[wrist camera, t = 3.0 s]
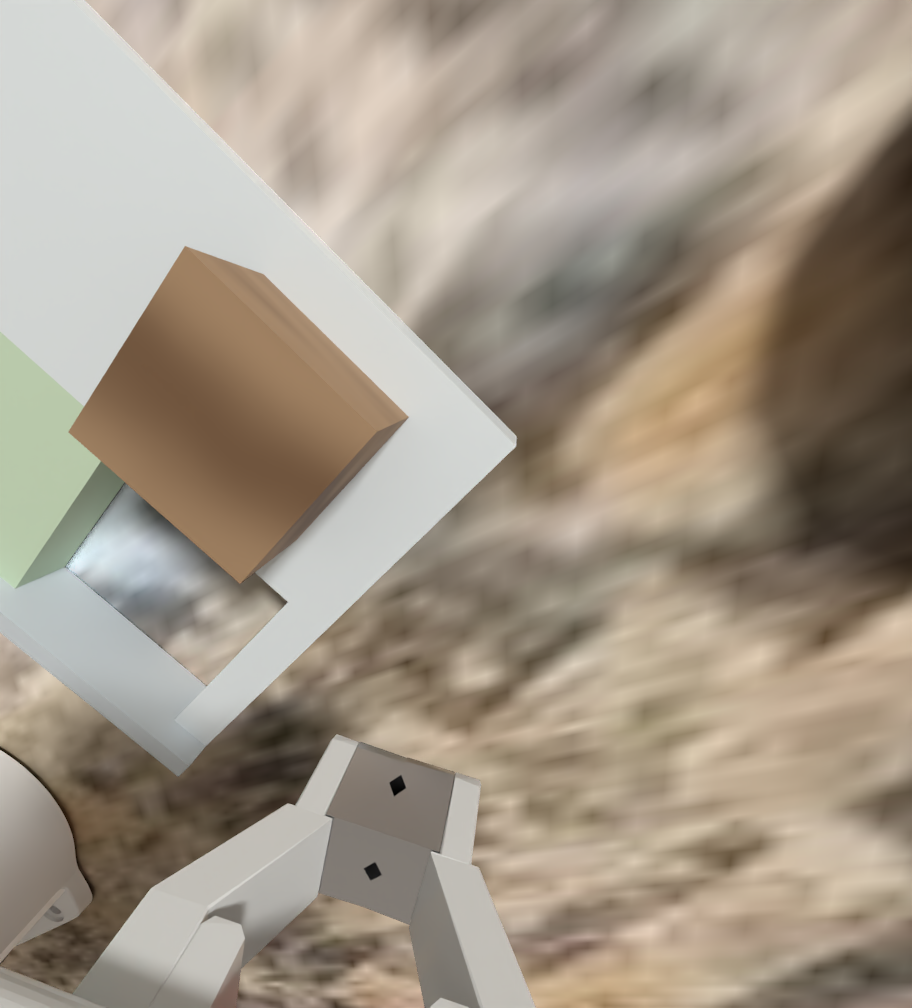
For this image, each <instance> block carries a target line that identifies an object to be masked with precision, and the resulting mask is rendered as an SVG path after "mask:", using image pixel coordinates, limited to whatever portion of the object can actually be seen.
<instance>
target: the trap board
mask: <svg viewBox="0 0 912 1008" xmlns="http://www.w3.org/2000/svg"><path fill="white" fill-rule="evenodd" d="M185 246H187V247H189V248H192V249H195V250H198V251H200V252H203V253H206V254H209V255H212V256H214V257H217V258H220V259H223V260H226V261H228V262H231V263H234V264H237V265H239V266H242V267H245V268H248V269H251V270H253V271H256V272H259V273H262V274H264V275H265V276H266V277H267V278H268V279H269V280H270V281H271V282H272V283H273V284H274V285H275V286H276V287H277V288H278V289H279V290H280V291H281V292H282V293H283V294H284V295H285V296H286V297H287V298H288V299H289V300H290V301H291V302H292V303H293V304H294V305H295V306H296V307H297V308H298V309H299V310H300V311H302V312H303V313H304V314H305V315H306V316H307V317H308V318H309V319H310V320H311V321H312V322H313V323H314V324H315V325H316V326H317V327H318V328H319V329H320V330H321V331H322V332H323V333H324V334H325V335H326V336H327V337H328V338H329V339H330V340H331V341H332V342H333V343H334V344H335V345H336V346H337V347H338V348H339V349H340V350H341V351H342V352H343V353H344V354H345V355H346V356H347V357H348V358H349V359H350V360H351V361H352V362H353V363H354V364H355V365H357V366H358V367H359V368H360V369H361V370H362V371H363V372H364V373H365V374H366V375H367V376H368V377H369V378H370V379H371V380H372V381H373V382H374V383H375V384H376V385H377V386H378V387H379V388H380V389H381V390H382V391H383V392H384V393H385V394H386V395H387V396H388V397H389V398H390V399H391V400H392V401H393V402H394V403H395V404H396V405H397V406H398V407H399V408H400V409H401V410H402V411H403V412H404V413H405V414H406V415H407V416H408V417H409V418H408V419H407V420H406V421H405V422H404V423H403V424H402V425H401V426H400V427H399V429H398V430H397V431H396V432H395V433H394V434H393V435H392V436H391V437H390V438H389V439H388V441H387V442H386V443H385V444H384V445H383V446H382V447H381V448H380V449H379V450H378V451H377V453H376V454H375V455H374V456H373V457H372V458H371V459H370V460H369V461H368V462H367V463H366V465H365V466H364V467H363V468H362V469H361V470H360V471H359V472H358V473H357V474H356V476H355V477H354V478H353V479H352V480H351V481H350V482H349V483H348V484H347V485H346V486H345V488H344V489H343V490H342V491H341V492H340V493H339V494H338V495H337V496H336V497H335V498H334V500H333V501H332V502H331V503H330V504H329V505H328V506H327V507H326V508H325V509H324V510H323V512H322V513H321V514H320V515H319V516H318V517H317V518H316V519H315V520H314V521H313V523H312V524H311V525H310V526H309V527H308V528H307V529H306V530H305V531H304V532H303V533H302V535H301V536H300V537H299V538H298V539H297V540H296V541H295V542H293V543H292V544H291V545H290V546H288V547H287V548H286V549H284V550H283V551H282V552H281V553H279V554H278V555H277V556H275V557H274V558H273V559H272V560H270V561H269V562H268V563H266V564H265V565H264V566H263V567H261V568H260V569H259V570H257V571H256V572H255V573H256V574H257V575H258V576H259V577H260V578H261V579H263V580H264V581H265V582H266V583H267V584H268V585H269V586H270V587H272V588H273V589H274V590H275V591H276V592H277V593H278V594H279V595H281V596H282V597H283V598H284V599H285V600H286V601H287V602H288V603H287V604H286V605H285V606H284V607H283V608H282V609H281V610H280V611H279V612H278V613H277V614H276V615H275V616H274V617H273V618H272V619H271V620H270V621H269V622H268V623H267V624H266V625H265V626H264V628H263V629H262V630H261V631H260V632H259V633H258V634H257V635H256V636H255V637H254V638H253V639H252V640H251V641H250V642H249V643H248V644H247V645H246V646H245V647H244V648H243V649H242V650H241V651H240V652H239V653H238V654H237V656H236V657H235V658H234V659H233V660H232V661H231V662H230V663H229V664H228V665H227V666H226V667H225V668H224V669H223V670H222V671H221V672H220V673H219V674H218V675H217V676H216V677H215V678H214V679H213V680H212V681H211V682H210V683H209V685H208V686H206V685H204V684H203V683H202V682H201V681H200V680H199V679H197V678H196V677H195V676H194V675H193V674H191V673H190V672H189V671H188V670H187V669H186V668H184V667H183V666H182V665H181V664H180V663H178V662H177V661H176V660H175V659H174V658H173V657H171V656H170V655H169V654H168V653H167V652H165V651H164V650H163V649H162V648H161V647H159V646H158V645H157V644H156V643H155V642H154V641H152V640H151V639H150V638H149V637H148V636H146V635H145V634H144V633H143V632H142V631H141V630H139V629H138V628H137V627H136V626H135V625H133V624H132V623H131V622H130V621H129V620H127V619H126V618H125V617H124V616H123V615H122V614H120V613H119V612H118V611H117V610H116V609H114V608H113V607H112V606H111V605H110V604H109V603H107V602H106V601H105V600H104V599H103V598H101V597H100V596H99V595H98V594H97V593H95V592H94V591H93V590H92V589H91V588H90V587H88V586H87V585H86V584H85V583H84V582H82V581H81V580H80V579H79V578H78V577H77V576H75V575H74V574H73V573H72V572H71V571H69V570H68V569H67V568H66V567H65V566H66V565H67V563H68V562H69V560H70V559H71V558H72V556H73V555H74V553H75V552H76V550H77V549H78V548H79V546H80V545H81V543H82V542H83V541H84V539H85V538H86V536H87V535H88V534H89V532H90V531H91V529H92V528H93V526H94V525H95V524H96V522H97V521H98V519H99V518H100V517H101V515H102V514H103V512H104V511H105V510H106V508H107V507H108V505H109V504H110V502H111V501H112V500H113V498H114V497H115V495H116V494H117V493H118V491H119V490H120V488H121V487H122V486H123V484H124V483H125V482H124V481H123V480H122V479H121V478H120V477H118V476H117V475H116V474H115V473H114V472H113V471H112V470H110V469H109V468H108V467H107V466H106V465H105V464H104V463H103V462H101V461H100V460H99V459H98V458H97V457H96V456H95V455H93V454H92V453H91V452H90V451H89V450H88V449H87V448H86V447H84V446H83V445H82V444H81V443H80V442H79V441H78V440H76V439H75V438H74V437H73V436H72V435H71V434H70V433H69V430H70V428H71V427H72V425H73V424H74V422H75V420H76V419H77V417H78V416H79V414H80V412H81V411H82V409H83V408H84V406H85V404H86V403H87V401H88V400H89V398H90V396H91V395H92V393H93V392H94V390H95V389H96V387H97V385H98V384H99V382H100V381H101V379H102V377H103V376H104V374H105V373H106V371H107V369H108V368H109V366H110V365H111V363H112V361H113V360H114V358H115V357H116V355H117V353H118V352H119V350H120V349H121V347H122V346H123V344H124V342H125V341H126V339H127V338H128V336H129V334H130V333H131V331H132V330H133V328H134V326H135V325H136V323H137V322H138V320H139V318H140V317H141V315H142V314H143V312H144V310H145V309H146V307H147V306H148V304H149V302H150V301H151V299H152V298H153V296H154V295H155V293H156V291H157V290H158V288H159V287H160V285H161V283H162V282H163V280H164V279H165V277H166V275H167V274H168V272H169V271H170V269H171V267H172V266H173V264H174V263H175V261H176V259H177V258H178V256H179V255H180V253H181V252H182V250H183V248H184V247H185ZM516 438H517V436H516V435H515V434H514V433H513V432H512V431H511V430H510V429H509V428H508V427H507V426H506V425H505V424H504V423H503V422H502V421H501V420H500V419H499V418H498V417H497V416H496V415H495V414H494V413H493V412H492V411H491V410H490V409H489V408H488V407H487V406H486V405H485V404H484V403H483V402H482V401H481V400H480V399H479V398H478V397H477V396H476V395H475V394H474V393H473V392H472V391H471V390H470V389H469V388H468V387H467V386H466V385H465V384H464V383H463V382H462V381H461V380H460V379H459V378H458V377H457V376H456V375H455V374H454V373H453V372H452V371H451V370H450V369H449V368H448V367H447V366H446V365H445V364H444V363H443V362H442V361H441V359H440V358H439V357H438V356H437V355H436V354H435V353H434V352H433V351H432V350H431V349H430V348H429V347H428V346H427V345H426V344H425V343H424V342H423V341H422V340H421V339H420V338H419V337H418V336H417V335H416V334H415V333H414V332H413V331H412V330H411V329H410V328H409V327H408V326H407V325H406V324H405V323H404V322H403V321H402V320H401V319H400V318H399V317H398V316H397V315H396V314H395V313H394V312H393V311H392V310H391V309H390V308H389V307H388V306H387V305H386V304H385V303H384V302H383V301H382V300H381V299H380V298H379V297H378V296H377V295H376V294H375V293H374V292H373V291H372V290H371V289H370V288H369V287H368V286H367V285H366V284H365V283H364V282H363V281H362V280H361V279H360V278H359V277H358V276H357V275H356V274H355V273H354V272H353V271H352V270H351V269H350V268H349V267H348V266H347V265H346V264H345V263H344V262H343V261H342V260H341V259H340V258H339V257H338V256H337V254H336V253H335V252H334V251H333V250H332V249H331V248H330V247H329V246H328V245H327V244H326V243H325V242H324V241H323V240H322V239H321V238H320V237H319V236H318V235H317V234H316V233H315V232H314V231H313V230H312V229H311V228H310V227H309V226H308V225H307V224H306V223H305V222H304V221H303V220H302V219H301V218H300V217H299V216H298V215H297V214H296V213H295V212H294V211H293V210H292V209H291V208H290V207H289V206H288V205H287V204H286V203H285V202H284V201H283V200H282V199H281V198H280V197H279V196H278V195H277V194H276V193H275V192H274V191H273V190H272V189H271V188H270V187H269V186H268V185H267V184H266V183H265V182H264V181H263V180H262V179H261V178H260V177H259V176H258V175H257V174H256V173H255V172H254V171H253V170H252V169H251V168H250V167H249V166H248V165H247V164H246V163H245V162H244V161H243V160H242V159H241V158H240V157H239V156H238V155H237V154H236V153H235V152H234V151H233V149H232V148H231V147H230V146H229V145H228V144H227V143H226V142H225V141H224V140H223V139H222V138H221V137H220V136H219V135H218V134H217V133H216V132H215V131H214V130H213V129H212V128H211V127H210V126H209V125H208V124H207V123H206V122H205V121H204V120H203V119H202V118H201V117H200V116H199V115H198V114H197V113H196V112H195V111H194V110H193V109H192V108H191V107H190V106H189V105H188V104H187V103H186V102H185V101H184V100H183V99H182V98H181V97H180V96H179V95H178V94H177V93H176V92H175V91H174V90H173V89H172V88H171V87H170V86H169V85H168V84H167V83H166V82H165V81H164V80H163V79H162V78H161V77H160V76H159V75H158V74H157V73H156V72H155V71H154V70H153V69H152V68H151V67H150V66H149V65H148V64H147V63H146V62H145V61H144V60H143V59H142V58H141V57H140V56H139V55H138V54H137V53H136V52H135V51H134V50H133V49H132V48H131V47H130V45H129V44H128V43H127V42H126V41H125V40H124V39H123V38H122V37H121V36H120V35H119V34H118V33H117V32H116V31H115V30H114V29H113V28H112V27H111V26H110V25H109V24H108V23H107V22H106V21H105V20H104V19H103V18H102V17H101V16H100V15H99V14H98V13H97V12H96V11H95V10H94V9H93V8H92V7H91V6H90V5H89V4H88V3H87V2H86V1H85V0H0V633H1V634H3V635H4V636H5V637H6V638H8V639H9V640H10V641H11V642H13V643H14V644H15V645H16V646H17V647H19V648H20V649H21V650H22V651H24V652H25V653H26V654H27V655H29V656H30V657H31V658H32V659H34V660H35V661H36V662H37V663H38V664H40V665H41V666H42V667H43V668H45V669H46V670H47V671H48V672H50V673H51V674H52V675H53V676H54V677H56V678H57V679H58V680H59V681H61V682H62V683H63V684H64V685H66V686H67V687H68V688H69V689H71V690H72V691H73V692H74V693H75V694H77V695H78V696H79V697H80V698H82V699H83V700H84V701H85V702H87V703H88V704H89V705H90V706H92V707H93V708H94V709H95V710H96V711H98V712H99V713H100V714H101V715H103V716H104V717H105V718H106V719H108V720H109V721H110V722H111V723H112V724H114V725H115V726H116V727H117V728H119V729H120V730H121V731H122V732H124V733H125V734H126V735H127V736H129V737H130V738H131V739H132V740H133V741H135V742H136V743H137V744H138V745H140V746H141V747H142V748H143V749H145V750H146V751H147V752H148V753H149V754H151V755H152V756H153V757H154V758H156V759H157V760H158V761H159V762H161V763H162V764H163V765H164V766H166V767H167V768H168V769H169V770H170V771H172V772H173V773H174V774H175V775H177V776H178V777H179V776H180V775H181V774H182V773H183V772H184V771H185V770H186V769H187V768H188V767H189V766H190V765H191V764H192V762H193V761H194V760H195V759H196V758H197V756H198V755H199V754H200V753H201V752H202V750H203V749H204V748H205V747H206V746H207V745H208V744H209V743H210V742H211V741H212V740H213V739H214V738H215V737H216V736H217V735H218V734H219V733H220V732H221V731H222V730H223V729H224V728H225V727H226V726H227V725H228V724H229V723H230V722H232V721H233V720H234V719H235V718H236V717H237V716H238V715H239V714H240V713H241V712H242V711H243V710H244V709H245V708H246V707H247V706H248V705H249V704H250V703H251V702H252V701H253V700H254V699H255V698H256V697H257V696H258V695H259V694H260V693H262V692H263V691H264V690H265V689H266V688H267V687H268V686H269V685H270V684H271V683H272V682H273V681H274V680H275V679H276V678H277V677H278V676H279V675H280V674H281V673H282V672H283V671H284V670H285V669H286V668H287V667H288V666H289V665H290V664H291V663H293V662H294V661H295V660H296V659H297V658H298V657H299V656H300V655H301V654H302V653H303V652H304V651H305V650H306V649H307V648H308V647H309V646H310V645H311V644H312V643H313V642H314V641H315V640H316V639H317V638H318V637H319V636H320V635H321V634H323V633H324V632H325V631H326V630H327V629H328V628H329V627H330V626H331V625H332V624H333V623H334V622H335V621H336V620H337V619H338V618H339V617H340V616H341V615H342V614H343V613H344V612H345V611H346V610H347V609H348V608H349V607H350V606H351V605H352V604H354V603H355V602H356V601H357V600H358V599H359V598H360V597H361V596H362V595H363V594H364V593H365V592H366V591H367V590H368V589H369V588H370V587H371V586H372V585H373V584H374V583H375V582H376V581H377V580H378V579H379V578H380V577H381V576H382V575H384V574H385V573H386V572H387V571H388V570H389V569H390V568H391V567H392V566H393V565H394V564H395V563H396V562H397V561H398V560H399V559H400V558H401V557H402V556H403V555H404V554H405V553H406V552H407V551H408V550H409V549H410V548H411V547H412V546H413V545H415V544H416V543H417V542H418V541H419V540H420V539H421V538H422V537H423V536H424V535H425V534H426V533H427V532H428V531H429V530H430V529H431V528H432V527H433V526H434V525H435V524H436V523H437V522H438V521H439V520H440V519H441V518H442V517H443V516H445V515H446V514H447V513H448V512H449V511H450V510H451V509H452V508H453V507H454V506H455V505H456V504H457V503H458V502H459V501H460V500H461V499H462V498H463V497H464V496H465V495H466V494H467V493H468V492H469V491H470V490H471V489H472V488H473V487H474V486H476V485H477V484H478V483H479V482H480V481H481V480H482V479H483V478H484V477H485V476H486V475H487V474H488V473H489V472H490V471H491V470H492V469H493V468H494V467H495V466H496V465H497V464H498V463H499V462H500V461H501V460H502V459H503V458H504V457H506V456H507V455H508V454H509V453H510V452H511V451H512V450H513V449H514V448H515V447H516Z"/></svg>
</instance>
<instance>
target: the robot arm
mask: <svg viewBox="0 0 912 1008" xmlns="http://www.w3.org/2000/svg"><path fill="white" fill-rule="evenodd" d="M480 789H481V783H480V780H478V779H475V778H472V777H469V776H465V775H462V774H459V773H455V772H453V771H450V770H447V769H443V768H440V767H437V766H434V765H430V764H427V763H424V762H420V761H417V760H414V759H411V758H405V757H402V756H400V755H397V754H394V753H391V752H388V751H385V750H382V749H380V748H377V747H374V746H371V745H368V744H365V743H362V742H358V741H355V740H352V739H350V738H347V737H344V736H341V735H338V734H336V735H335V736H334V738H333V739H332V740H331V741H330V743H329V745H328V747H327V749H326V750H325V752H324V754H323V756H322V758H321V759H320V761H319V763H318V765H317V767H316V769H315V770H314V772H313V774H312V776H311V778H310V780H309V781H308V783H307V785H306V787H305V789H304V790H303V792H302V794H301V796H300V798H299V800H298V801H297V803H296V805H292V804H289V803H287V804H286V805H284V806H282V807H281V808H279V809H278V810H276V811H274V812H273V813H271V814H270V815H268V816H266V817H265V818H263V819H261V820H260V821H258V822H257V823H255V824H253V825H252V826H250V827H249V828H247V829H245V830H244V831H242V832H241V833H239V834H237V835H236V836H234V837H232V838H231V839H229V840H228V841H226V842H224V843H223V844H221V845H220V846H218V847H216V848H215V849H213V850H212V851H210V852H208V853H207V854H205V855H204V856H202V857H200V858H199V859H197V860H195V861H194V862H192V863H191V864H189V865H187V866H186V867H184V868H183V869H181V870H179V871H178V872H176V873H175V874H173V875H171V876H170V877H168V878H166V879H165V880H163V881H162V882H160V883H158V884H157V885H155V886H154V887H152V888H151V889H150V890H149V891H148V893H147V894H146V895H145V897H144V898H143V899H142V901H141V902H140V903H139V905H138V906H137V908H136V909H135V910H134V912H133V913H132V914H131V916H130V917H129V918H128V920H127V921H126V922H125V924H124V925H123V926H122V928H121V929H120V930H119V932H118V933H117V934H116V936H115V937H114V938H113V940H112V941H111V942H110V944H109V945H108V947H107V948H106V949H105V951H104V952H103V953H102V955H101V956H100V957H99V959H98V960H97V961H96V963H95V964H94V965H93V967H92V968H91V969H90V971H89V972H88V973H87V975H86V976H85V977H84V979H83V980H82V981H81V983H80V984H79V985H78V987H77V988H76V990H75V991H74V992H73V994H71V993H68V992H66V991H63V990H61V989H58V988H55V987H53V986H50V985H48V984H45V983H43V982H40V981H37V980H35V979H32V978H30V977H27V976H25V975H22V974H20V973H17V972H14V971H12V970H9V969H7V968H4V967H2V966H0V1008H236V1002H237V995H238V987H239V980H240V972H241V968H242V967H243V966H245V965H246V964H247V963H248V962H249V961H250V960H251V959H252V958H253V957H254V956H255V955H256V954H257V953H258V952H259V951H260V950H261V949H263V948H264V947H265V946H266V945H267V944H268V943H269V942H270V941H271V940H272V939H273V938H274V937H275V936H276V935H277V934H278V933H279V932H280V931H282V930H283V929H284V928H285V927H286V926H287V925H288V924H289V923H290V922H291V921H292V920H293V919H294V918H295V917H296V916H297V915H298V914H300V913H301V912H302V911H303V910H304V909H305V908H306V907H307V906H308V905H309V904H310V903H311V902H312V901H313V900H314V899H315V898H316V897H317V896H318V893H321V894H324V895H327V896H330V897H333V898H337V899H340V900H343V901H346V902H349V903H353V904H356V905H359V906H362V907H364V906H365V908H368V909H370V910H373V911H375V912H378V913H380V914H383V915H386V916H388V917H391V918H393V919H396V920H398V921H401V922H404V923H406V924H409V925H410V926H409V931H410V936H411V941H412V946H413V951H414V956H415V961H416V966H417V971H418V976H419V981H420V986H421V991H422V996H423V1001H424V1006H425V1008H536V1007H535V1004H534V1002H533V999H532V997H531V994H530V992H529V989H528V987H527V984H526V982H525V980H524V977H523V975H522V972H521V970H520V967H519V965H518V962H517V960H516V957H515V955H514V952H513V950H512V948H511V945H510V943H509V940H508V938H507V935H506V933H505V930H504V928H503V925H502V923H501V920H500V918H499V915H498V913H497V911H496V908H495V906H494V903H493V901H492V898H491V896H490V893H489V891H488V888H487V886H486V883H485V881H484V879H483V876H482V874H481V871H480V869H479V867H476V866H474V865H471V861H472V853H473V845H474V837H475V829H476V821H477V813H478V805H479V797H480ZM91 902H92V893H91V890H90V888H89V886H88V884H87V882H86V881H85V879H84V877H83V875H82V874H81V872H80V870H79V869H78V866H77V862H76V855H75V846H74V840H73V836H72V833H71V830H70V827H69V825H68V822H67V820H66V818H65V816H64V814H63V812H62V811H61V809H60V807H59V806H58V804H57V803H56V801H55V800H54V798H53V797H52V796H51V794H50V793H49V792H48V791H47V790H46V788H45V787H44V786H43V785H42V784H41V783H40V782H39V781H38V780H37V779H36V778H35V777H34V776H33V775H32V774H31V773H30V772H29V771H28V770H27V769H26V768H24V767H23V766H22V765H21V764H19V763H18V762H17V761H16V760H14V759H13V758H12V757H10V756H9V755H7V754H6V753H4V752H3V751H1V750H0V964H1V963H2V962H3V961H4V960H5V958H6V957H7V956H8V954H9V953H10V951H11V950H12V949H13V948H14V947H15V946H18V945H20V944H22V943H24V942H26V941H28V940H30V939H33V938H35V937H37V936H39V935H41V934H43V933H45V932H47V931H50V930H52V929H54V928H56V927H58V926H60V925H62V924H65V923H67V922H69V921H71V920H73V919H75V918H77V917H78V916H79V915H80V914H81V913H82V912H83V910H84V909H85V908H86V907H87V906H88V905H89V904H90V903H91Z"/></svg>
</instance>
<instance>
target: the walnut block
mask: <svg viewBox="0 0 912 1008" xmlns="http://www.w3.org/2000/svg"><path fill="white" fill-rule="evenodd" d="M408 418H409V417H408V416H407V415H406V414H405V413H404V412H403V411H402V410H401V409H400V408H399V407H398V406H397V405H396V404H395V403H394V402H393V401H392V400H391V399H390V398H389V397H388V396H387V395H386V394H385V393H384V392H383V391H382V390H381V389H380V388H379V387H378V386H377V385H376V384H375V383H374V382H373V381H372V380H371V379H370V378H369V377H368V376H367V375H366V374H365V373H364V372H363V371H362V370H361V369H360V368H359V367H358V366H357V365H355V364H354V363H353V362H352V361H351V360H350V359H349V358H348V357H347V356H346V355H345V354H344V353H343V352H342V351H341V350H340V349H339V348H338V347H337V346H336V345H335V344H334V343H333V342H332V341H331V340H330V339H329V338H328V337H327V336H326V335H325V334H324V333H323V332H322V331H321V330H320V329H319V328H318V327H317V326H316V325H315V324H314V323H313V322H312V321H311V320H310V319H309V318H308V317H307V316H306V315H305V314H304V313H303V312H302V311H300V310H299V309H298V308H297V307H296V306H295V305H294V304H293V303H292V302H291V301H290V300H289V299H288V298H287V297H286V296H285V295H284V294H283V293H282V292H281V291H280V290H279V289H278V288H277V287H276V286H275V285H274V284H273V283H272V282H271V281H270V280H269V279H268V278H267V277H266V276H265V275H264V274H262V273H259V272H256V271H253V270H251V269H248V268H245V267H242V266H239V265H237V264H234V263H231V262H228V261H226V260H223V259H220V258H217V257H214V256H212V255H209V254H206V253H203V252H200V251H198V250H195V249H192V248H189V247H187V246H185V247H184V248H183V250H182V252H181V253H180V255H179V256H178V258H177V259H176V261H175V263H174V264H173V266H172V267H171V269H170V271H169V272H168V274H167V275H166V277H165V279H164V280H163V282H162V283H161V285H160V287H159V288H158V290H157V291H156V293H155V295H154V296H153V298H152V299H151V301H150V302H149V304H148V306H147V307H146V309H145V310H144V312H143V314H142V315H141V317H140V318H139V320H138V322H137V323H136V325H135V326H134V328H133V330H132V331H131V333H130V334H129V336H128V338H127V339H126V341H125V342H124V344H123V346H122V347H121V349H120V350H119V352H118V353H117V355H116V357H115V358H114V360H113V361H112V363H111V365H110V366H109V368H108V369H107V371H106V373H105V374H104V376H103V377H102V379H101V381H100V382H99V384H98V385H97V387H96V389H95V390H94V392H93V393H92V395H91V396H90V398H89V400H88V401H87V403H86V404H85V406H84V408H83V409H82V411H81V412H80V414H79V416H78V417H77V419H76V420H75V422H74V424H73V425H72V427H71V428H70V430H69V433H70V434H71V435H72V436H73V437H74V438H75V439H76V440H78V441H79V442H80V443H81V444H82V445H83V446H84V447H86V448H87V449H88V450H89V451H90V452H91V453H92V454H93V455H95V456H96V457H97V458H98V459H99V460H100V461H101V462H103V463H104V464H105V465H106V466H107V467H108V468H109V469H110V470H112V471H113V472H114V473H115V474H116V475H117V476H118V477H120V478H121V479H122V480H123V481H124V482H125V483H126V484H127V485H129V486H130V487H131V488H132V489H133V490H134V491H135V492H137V493H138V494H139V495H140V496H141V497H142V498H143V499H144V500H146V501H147V502H148V503H149V504H150V505H151V506H152V507H154V508H155V509H156V510H157V511H158V512H159V513H160V514H161V515H163V516H164V517H165V518H166V519H167V520H168V521H169V522H171V523H172V524H173V525H174V526H175V527H176V528H177V529H178V530H180V531H181V532H182V533H183V534H184V535H185V536H186V537H187V538H189V539H190V540H191V541H192V542H193V543H194V544H195V545H197V546H198V547H199V548H200V549H201V550H202V551H203V552H204V553H206V554H207V555H208V556H209V557H210V558H211V559H212V560H214V561H215V562H216V563H217V564H218V565H219V566H220V567H221V568H223V569H224V570H225V571H226V572H227V573H228V574H229V575H231V576H232V577H233V578H234V579H235V580H236V581H237V582H238V583H240V584H241V583H242V582H243V581H245V580H246V579H247V578H248V577H250V576H251V575H252V574H254V573H255V572H256V571H257V570H259V569H260V568H261V567H263V566H264V565H265V564H266V563H268V562H269V561H270V560H272V559H273V558H274V557H275V556H277V555H278V554H279V553H281V552H282V551H283V550H284V549H286V548H287V547H288V546H290V545H291V544H292V543H293V542H295V541H296V540H297V539H298V538H299V537H300V536H301V535H302V533H303V532H304V531H305V530H306V529H307V528H308V527H309V526H310V525H311V524H312V523H313V521H314V520H315V519H316V518H317V517H318V516H319V515H320V514H321V513H322V512H323V510H324V509H325V508H326V507H327V506H328V505H329V504H330V503H331V502H332V501H333V500H334V498H335V497H336V496H337V495H338V494H339V493H340V492H341V491H342V490H343V489H344V488H345V486H346V485H347V484H348V483H349V482H350V481H351V480H352V479H353V478H354V477H355V476H356V474H357V473H358V472H359V471H360V470H361V469H362V468H363V467H364V466H365V465H366V463H367V462H368V461H369V460H370V459H371V458H372V457H373V456H374V455H375V454H376V453H377V451H378V450H379V449H380V448H381V447H382V446H383V445H384V444H385V443H386V442H387V441H388V439H389V438H390V437H391V436H392V435H393V434H394V433H395V432H396V431H397V430H398V429H399V427H400V426H401V425H402V424H403V423H404V422H405V421H406V420H407V419H408Z"/></svg>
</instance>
